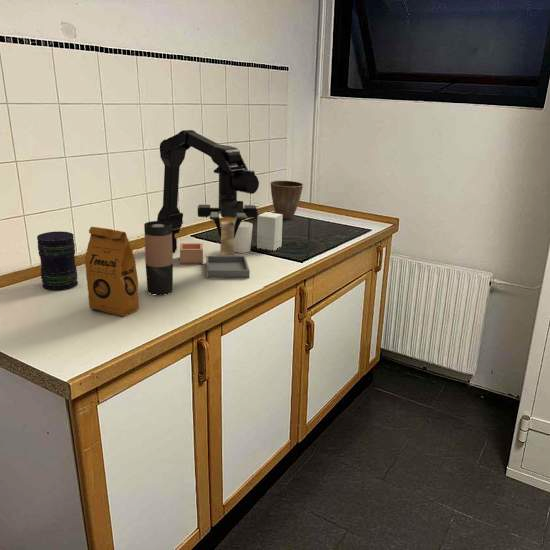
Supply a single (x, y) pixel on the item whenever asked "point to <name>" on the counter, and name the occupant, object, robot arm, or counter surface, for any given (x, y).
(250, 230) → the white cup
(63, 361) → the counter surface
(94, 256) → the coffee package
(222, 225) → the wooden peg
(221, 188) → the robot arm
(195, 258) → the pink open box
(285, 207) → the plant pot
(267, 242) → the supplement box
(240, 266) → the charcoal tray
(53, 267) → the storage jar
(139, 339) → the counter surface
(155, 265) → the travel mug
